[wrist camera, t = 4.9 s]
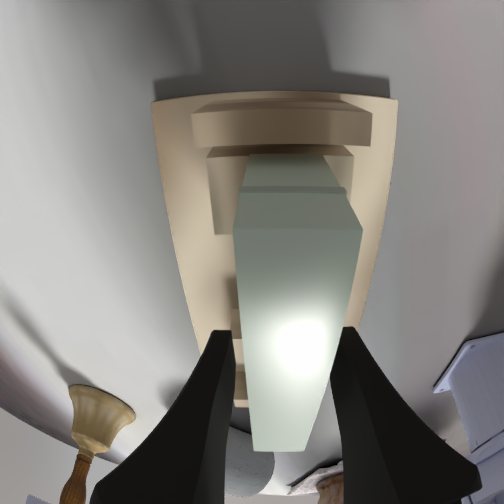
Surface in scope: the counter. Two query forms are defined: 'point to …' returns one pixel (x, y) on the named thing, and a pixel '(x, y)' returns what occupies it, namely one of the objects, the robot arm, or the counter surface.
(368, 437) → the robot arm
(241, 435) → the ceramic mug
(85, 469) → the hand bell
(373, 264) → the display stand
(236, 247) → the glasses case
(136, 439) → the counter surface
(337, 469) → the cookie jar
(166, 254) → the counter surface
